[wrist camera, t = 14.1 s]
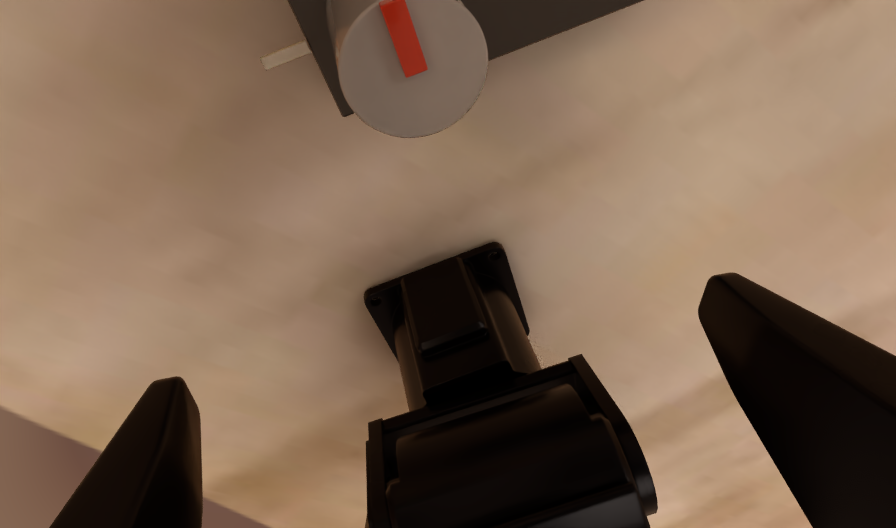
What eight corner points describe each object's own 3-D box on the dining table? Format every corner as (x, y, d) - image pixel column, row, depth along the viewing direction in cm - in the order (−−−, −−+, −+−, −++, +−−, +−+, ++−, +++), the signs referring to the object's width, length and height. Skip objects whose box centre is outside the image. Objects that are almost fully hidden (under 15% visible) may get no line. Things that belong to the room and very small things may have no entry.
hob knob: (465, 48, 18) (506, 113, 15) (355, 91, 18) (373, 165, 15) (430, -78, 16) (470, -32, 13) (302, -27, 16) (312, 31, 13)
